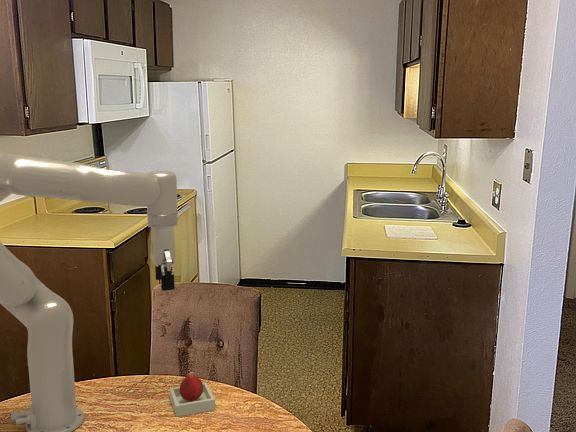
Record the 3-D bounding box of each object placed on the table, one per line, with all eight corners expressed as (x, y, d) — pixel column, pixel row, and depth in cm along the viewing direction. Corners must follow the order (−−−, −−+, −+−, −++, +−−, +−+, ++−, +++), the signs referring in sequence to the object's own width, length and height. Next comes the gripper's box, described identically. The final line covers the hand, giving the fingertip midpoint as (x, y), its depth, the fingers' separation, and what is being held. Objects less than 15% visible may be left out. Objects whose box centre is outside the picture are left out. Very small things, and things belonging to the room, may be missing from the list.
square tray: (176, 417, 137) (176, 406, 136) (169, 398, 145) (169, 388, 145) (215, 409, 140) (215, 399, 139) (206, 392, 149) (206, 382, 148)
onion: (191, 410, 138) (190, 380, 137) (175, 403, 142) (174, 373, 140) (208, 401, 143) (207, 371, 141) (192, 394, 146) (191, 365, 145)
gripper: (143, 215, 151) (145, 277, 154) (152, 227, 135) (155, 295, 138) (171, 213, 153) (173, 274, 156) (183, 225, 138) (185, 292, 141)
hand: (164, 284), depth 147 cm, fingers open, 9 cm apart
